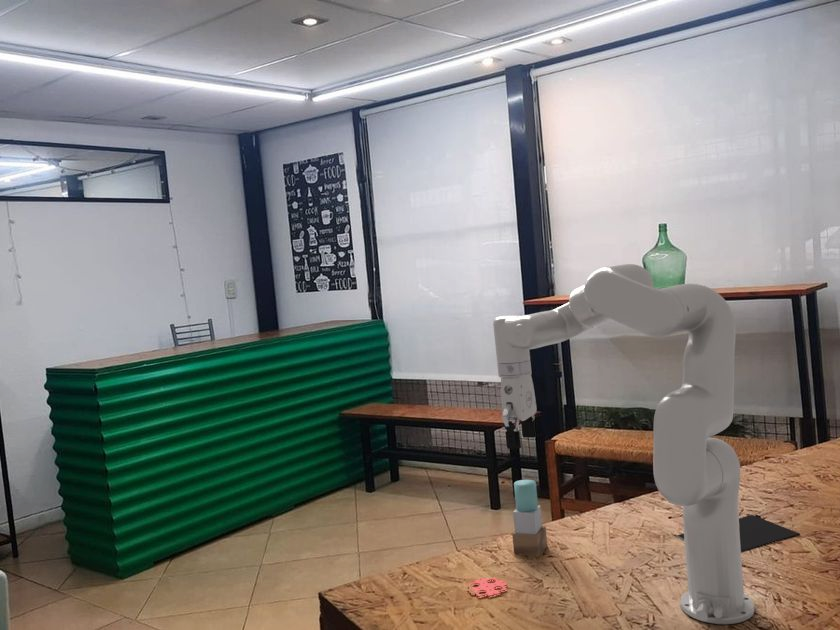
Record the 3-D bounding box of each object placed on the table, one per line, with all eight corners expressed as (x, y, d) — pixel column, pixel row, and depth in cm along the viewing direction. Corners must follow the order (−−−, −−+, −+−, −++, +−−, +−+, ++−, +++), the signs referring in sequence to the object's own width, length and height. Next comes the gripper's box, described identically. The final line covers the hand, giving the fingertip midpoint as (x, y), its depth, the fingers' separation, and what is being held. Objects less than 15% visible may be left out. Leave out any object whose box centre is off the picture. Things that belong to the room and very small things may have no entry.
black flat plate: (801, 537, 161) (749, 517, 175) (801, 531, 161) (749, 511, 175) (720, 561, 153) (673, 538, 167) (720, 555, 153) (672, 532, 167)
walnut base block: (538, 557, 163) (537, 535, 163) (514, 554, 166) (512, 533, 166) (547, 546, 168) (545, 525, 168) (523, 544, 171) (521, 523, 171)
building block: (476, 598, 145) (512, 589, 147) (462, 583, 152) (496, 574, 155) (476, 602, 145) (512, 593, 147) (462, 586, 152) (497, 578, 155)
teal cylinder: (533, 512, 163) (531, 486, 163) (513, 511, 166) (510, 485, 165) (541, 505, 167) (538, 480, 167) (520, 503, 170) (518, 479, 170)
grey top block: (535, 534, 163) (534, 513, 163) (514, 532, 166) (512, 511, 165) (542, 526, 168) (540, 505, 168) (521, 524, 170) (519, 504, 170)
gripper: (516, 375, 155) (524, 453, 156) (542, 362, 170) (549, 433, 171) (484, 376, 158) (492, 452, 159) (512, 363, 173) (520, 433, 174)
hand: (521, 442), depth 165 cm, fingers open, 9 cm apart
